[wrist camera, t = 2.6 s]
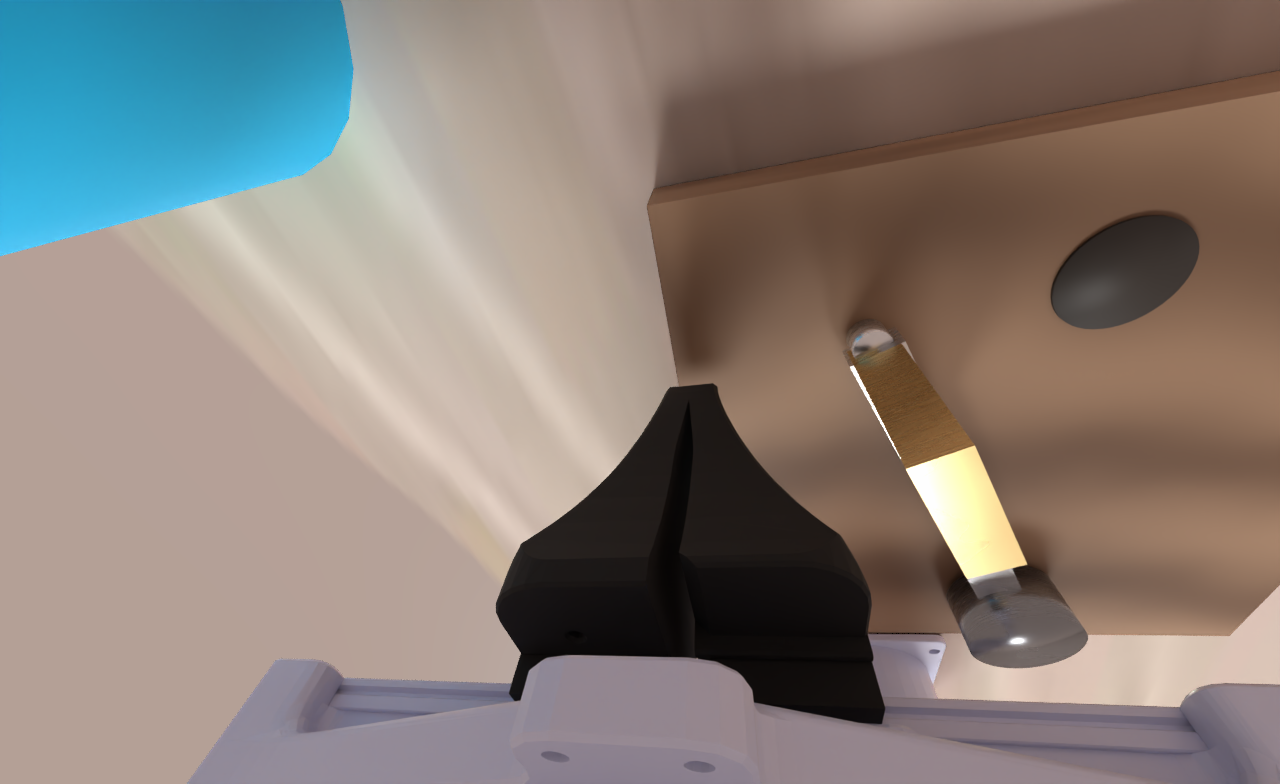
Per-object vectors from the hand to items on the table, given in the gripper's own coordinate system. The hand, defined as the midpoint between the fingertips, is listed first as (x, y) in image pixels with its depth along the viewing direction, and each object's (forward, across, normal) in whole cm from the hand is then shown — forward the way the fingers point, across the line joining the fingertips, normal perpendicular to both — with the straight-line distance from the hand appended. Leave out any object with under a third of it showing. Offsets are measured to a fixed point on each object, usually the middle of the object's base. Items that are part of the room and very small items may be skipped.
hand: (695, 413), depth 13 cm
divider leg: (+1, -8, +5) cm, 10 cm away
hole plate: (+3, -10, +4) cm, 11 cm away
